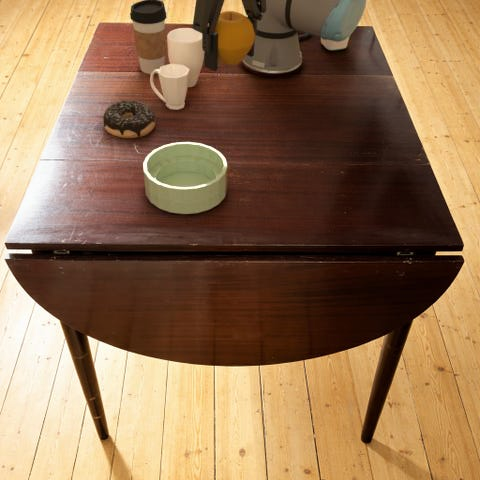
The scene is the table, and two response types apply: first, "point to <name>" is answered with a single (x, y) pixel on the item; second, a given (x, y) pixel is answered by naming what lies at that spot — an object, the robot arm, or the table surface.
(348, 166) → the table surface
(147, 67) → the coffee cup
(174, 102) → the cup
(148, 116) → the donut
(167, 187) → the serving bowl
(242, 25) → the apple
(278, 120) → the table surface
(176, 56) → the mug
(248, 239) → the table surface
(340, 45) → the cup
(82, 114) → the table surface
